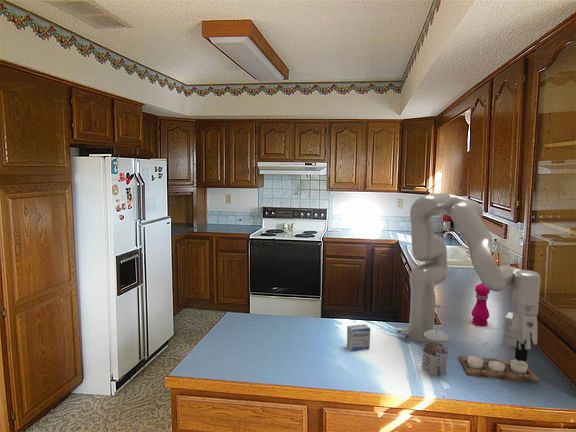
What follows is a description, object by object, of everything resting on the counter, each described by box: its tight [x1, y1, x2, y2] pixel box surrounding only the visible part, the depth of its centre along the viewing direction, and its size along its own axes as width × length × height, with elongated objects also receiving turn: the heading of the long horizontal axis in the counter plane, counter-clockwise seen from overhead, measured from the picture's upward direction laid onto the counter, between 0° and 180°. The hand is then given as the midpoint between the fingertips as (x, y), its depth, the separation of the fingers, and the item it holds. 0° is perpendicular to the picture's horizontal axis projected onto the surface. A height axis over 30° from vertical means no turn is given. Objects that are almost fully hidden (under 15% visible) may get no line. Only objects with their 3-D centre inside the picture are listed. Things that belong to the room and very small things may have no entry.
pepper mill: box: [471, 280, 491, 327], centre depth 181 cm, size 7×7×20 cm
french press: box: [421, 303, 450, 376], centre depth 136 cm, size 10×12×25 cm
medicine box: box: [346, 323, 371, 352], centre depth 157 cm, size 8×4×9 cm, turn 105°
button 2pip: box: [509, 359, 529, 374], centre depth 138 cm, size 5×5×3 cm
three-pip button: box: [466, 355, 484, 370], centre depth 140 cm, size 5×5×3 cm
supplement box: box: [502, 311, 516, 349], centre depth 159 cm, size 7×7×13 cm
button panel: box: [458, 355, 539, 384], centre depth 139 cm, size 22×12×3 cm, turn 80°
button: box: [487, 361, 505, 372], centre depth 139 cm, size 5×5×3 cm
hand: (520, 359), depth 137 cm, fingers closed
